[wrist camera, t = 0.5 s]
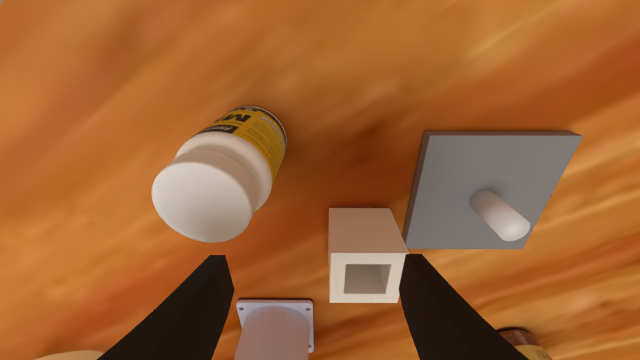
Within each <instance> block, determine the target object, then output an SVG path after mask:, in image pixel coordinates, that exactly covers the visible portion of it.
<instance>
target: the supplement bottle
mask: <svg viewBox="0 0 640 360" xmlns="http://www.w3.org/2000/svg"><path fill="white" fill-rule="evenodd" d="M286 148H287V137H286V133H285V130H284V128H283V126H282V124H281V123H280V121H279V120H278V119H277V118H276V117H275V116H274V115H273V114H272V113H270V112H269V111H267V110H265V109H263V108H260V107H256V106H242V107H238V108H236V109H233V110H232V111H230V112H228V113H227V114H225V115H224V116H223V117H221V118H220V119H218V120H217V121H215V122H214V123H212V124H211V125H209V126H208V127H206V128H205V129H203V130H202V131H200V132H199V133H197V134H196V135H194V136H193V137H191V138H190V139H188V140H187V141H186V142H185V143H184V144H183V145H182V146H181V148H180V149H179V151H178V152H177V154H176V156H175V159H174V160H173V161H172V162H171V163H170V164H169V165H168V166H167V167H165V168H164V169H163V170H162V171H161V172H160V173H159V174H158V175H157V177H156V178H155V180H154V183H153V186H152V200H153V204H154V206H155V209H156V211H157V212H158V214H159V215H160V217H161V218H162V219H163V220H164V222H165V223H167V224H168V225H169V226H170V227H171V228H172V229H174V230H175V231H177V232H179V233H180V234H182V235H184V236H186V237H188V238H191V239H194V240H198V241H202V242H223V241H227V240H230V239H233V238H234V237H236V236H238V235H239V234H241V233H242V232H243V231H244V230H245V229H246V227H247V226H248V224H249V222H250V220H251V218H252V216H253V214H254V212H255V211H256V210H258V209H259V208H260V207H261V206H262V205H263V204H264V203H265V202H266V200H267V199H268V197H269V195H270V193H271V190H272V187H273V184H274V181H275V179H276V176H277V173H278V171H279V168H280V165H281V163H282V160H283V158H284V155H285V152H286Z"/></svg>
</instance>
